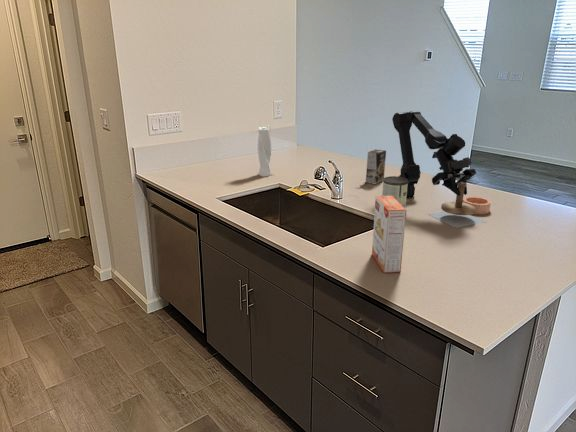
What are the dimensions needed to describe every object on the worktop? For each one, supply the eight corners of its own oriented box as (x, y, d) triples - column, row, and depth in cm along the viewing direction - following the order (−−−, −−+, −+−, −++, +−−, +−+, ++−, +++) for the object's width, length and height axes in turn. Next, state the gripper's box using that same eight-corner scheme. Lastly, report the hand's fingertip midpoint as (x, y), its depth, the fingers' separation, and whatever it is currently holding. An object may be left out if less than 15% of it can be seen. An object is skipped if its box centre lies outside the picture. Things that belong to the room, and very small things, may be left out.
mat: (455, 228, 174) (455, 227, 174) (427, 215, 188) (427, 214, 187) (486, 222, 180) (486, 221, 180) (457, 210, 194) (457, 209, 194)
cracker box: (370, 254, 152) (374, 195, 145) (388, 253, 152) (393, 194, 145) (382, 273, 139) (387, 209, 131) (401, 273, 139) (407, 209, 132)
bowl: (468, 215, 188) (470, 205, 187) (457, 206, 198) (458, 196, 197) (494, 214, 189) (495, 204, 187) (481, 206, 199) (483, 196, 198)
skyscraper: (275, 176, 246) (275, 124, 236) (263, 178, 242) (262, 125, 232) (267, 172, 252) (267, 122, 243) (255, 175, 248) (253, 123, 238)
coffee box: (376, 184, 231) (378, 153, 225) (365, 182, 234) (367, 151, 229) (384, 180, 237) (386, 150, 232) (373, 178, 241) (375, 148, 235)
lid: (448, 215, 176) (452, 188, 172) (436, 204, 188) (439, 178, 184) (481, 215, 177) (485, 187, 173) (466, 204, 189) (470, 178, 185)
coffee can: (382, 206, 199) (384, 175, 194) (406, 208, 196) (409, 177, 191) (378, 213, 190) (381, 181, 185) (403, 216, 186) (407, 183, 181)
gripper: (440, 152, 174) (457, 187, 168) (476, 148, 181) (493, 182, 176) (424, 167, 183) (439, 201, 178) (459, 163, 191) (475, 195, 185)
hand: (462, 194), depth 179 cm, fingers closed on lid, 3 cm apart
